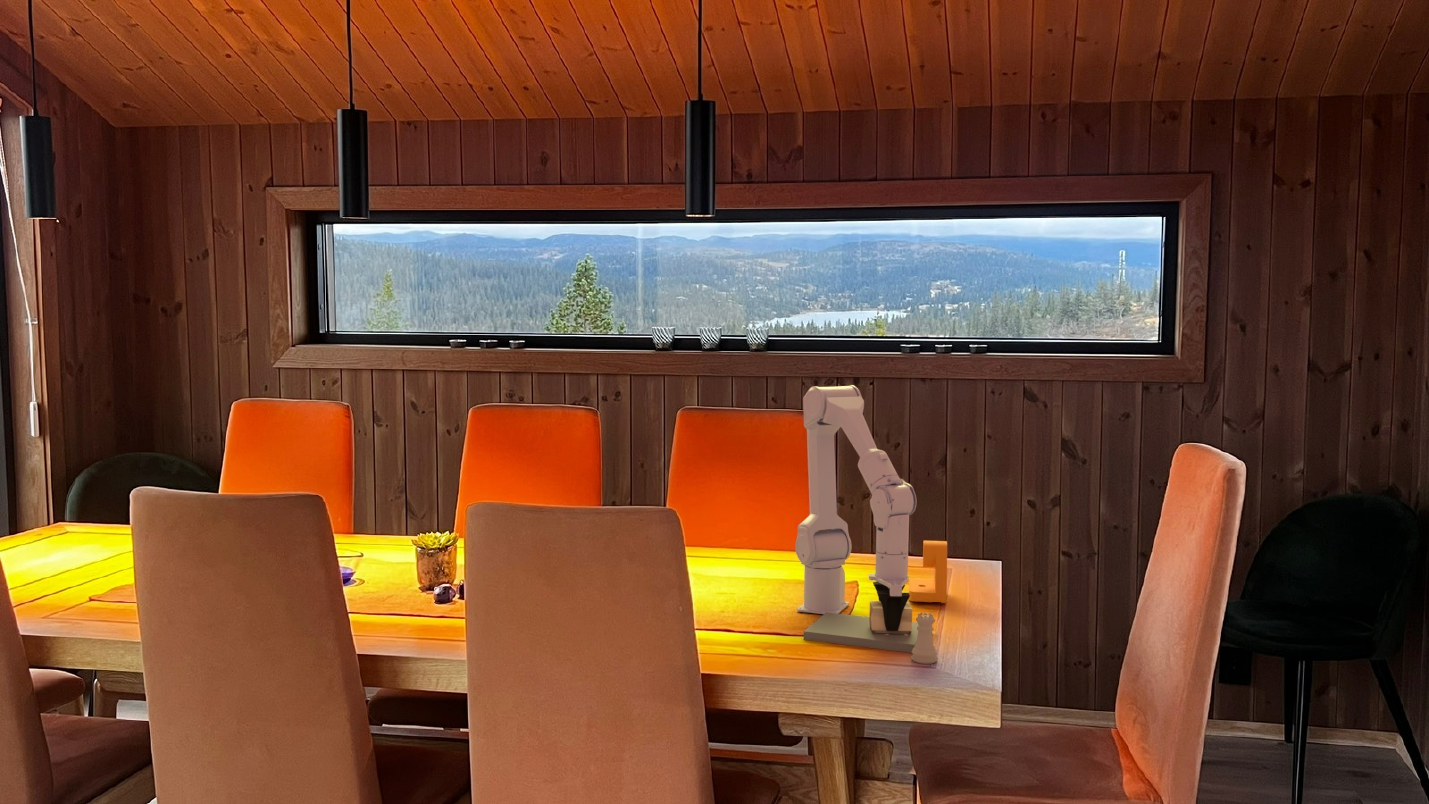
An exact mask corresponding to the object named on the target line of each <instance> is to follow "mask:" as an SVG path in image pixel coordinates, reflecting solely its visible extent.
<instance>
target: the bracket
mask: <svg viewBox="0 0 1429 804" xmlns="http://www.w3.org/2000/svg"><path fill="white" fill-rule="evenodd" d="M922 543H923V546H922V549H923V550H922V551H923V552H922V568H930V569H931V568H933V569H934V578H933V579H915V578H911V579H909V581H908V583H909V584H908V590H909V591H908V593H909V594H910V597H909V600H908V602H914V603H915V602H916V603H932V602H941V603H940V604H947V596H948V594H947V593H948V591H947V590H948V589H947V587H948V586H947V585H948V584H947V583H948V582H947V581H948V541H946V540H945V541H944V540H923V542H922Z"/></svg>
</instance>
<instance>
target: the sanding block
mask: <svg viewBox="0 0 1429 804" xmlns="http://www.w3.org/2000/svg"><path fill="white" fill-rule="evenodd" d="M868 617H869V623H870V627H871V630H872V632H873V633H874V632H875V633H896V634H909V633H911V631H912V622H913V607H912V606H911V603H910V601H907V603H906V605H905V607H904V610H903V613H902V617H901V622H900V626H899V629H898V631H886V627H885V622H884V614H883V608H882V604H881V601H879V600H870V601H869V616H868Z"/></svg>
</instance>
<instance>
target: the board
mask: <svg viewBox="0 0 1429 804" xmlns="http://www.w3.org/2000/svg"><path fill="white" fill-rule="evenodd" d="M917 627H918V623H917V621H916V622H914V621H912V631H911V633H909V634H896V633H875V632H874V633H873V632H872V630H871V627H870V623H869V616H862V615H853V614H852V615H851V614H844V613H838V614H837V613H828V612H826V613H825V614H822V616H820V617H819V618H818V619H817V620H816V621H814V622H813V623H812V624H811V625H810V626H808V627H807V628H806V629H805V630H803V640H805V641H812V642H821V643H828V644H829V643H830V644H839V645H843V646H854V647H860V648H861V647H862V648H868V649H869V648H870V649H876V650H885V651H893V652H895V651H896V652H901V653H902V652H903V653H909V654H910V653H911V654H912V649H913V648H914V647H915V645H916V642H917V637H918V630H917Z"/></svg>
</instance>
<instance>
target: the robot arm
mask: <svg viewBox="0 0 1429 804" xmlns="http://www.w3.org/2000/svg"><path fill="white" fill-rule="evenodd" d="M802 403H803V405H802V406H803V408H802V409H803V427H804V428H805V429H806V438H807V439H806V440H807V441H806V443H807V446H806V448H807V469H808V496H809V501H808V503H809V515H808V516H807V517H806V518H804V520H803V521H802V522H800V523H799V524H798V525H797V534H796V535H797V537H796V541H795V546H794V547H795V548H794V549H795V554H796V556H797V558H798V560H799V562H800V564H801V565H803V566H804V583H803V584H804V585H803V586H804V587H803V604H802V605H800V606H799V607H798V608H797V609H796V611H797V612H801V613H810V614H819V615H824V614H825V613H826V612H828V613H837V614H841V612H843V610H845V608H847V607H848V606H849V605H850V602H849V601H845V598H846V597H845V593H846V592H845V591H846V589H845V588H846V573H845V568H843V566H845V565H846V561H847V560H848V559H849V557H850V555H851V552H852V548H853V547H852V540H851V539H852V538H851V537H850V535H849V527H848V526H849V525H848V523H847V521H845V520H844V519H843V518H841V517H840V516H839V515H838V510H837V509H838V507H837V503H838V502H837V475H836V452H835V435H836V434H837V432H838V430H840V428H841V429H842V431H843V432H844V434H845V435H846V437H847V439H848V440H849V442H850V444H851V445H852V446H853V448H854V450H855V451H856V453H857V455H858V457H859V460H858V463H857V468H858V469H859V471H860V474H861V476H862V477H863V480H864V482H865V484H866V486H867V487H868V489H869V491H870V493H871V498H870V499H869V505H870V508H871V511H872V512H871V513H872V515H873V523H874V526H875V527H876V528H875V529H876V534H875V535H876V537H875V573H869V574H868V580H869V581H873V582H872V584H873V586H874V589H875V592H876V594H877V597H878V601H881V604H882V608H883V614H884V622H885V627H886V631H898V629H899V626H900V622H901V617H902V613H903V610H904V607H905V605H906V603H907V602H909V597H910V594H909V592H903V590H904V589H905V587H906V584H907V583H909V580H910V579H909V541H910V540H909V538H910V537H909V536H910V534H909V533H910V532H909V531H910V516H911V515H913V514H914V512H916V508H917V503H918V502H917V495H916V492H915V490H914V487H913V486H912V484H910V483H908V482H906V481H905V480H904V479H903V478H900V476H899V475H898V473H897V471H896V468H894V465H893V464H892V461H891V459H890V458H889V456H888V454H887V452H886V451H884V450H882V449H878V448H877V447H878V446H877V445H876V443H875V440H874V438H873V436H872V434H871V431H870V428H869V426H868V423H867V421H866V419H865V416H864V415H863V413H864V408H865V400H864V398H863V396H862V394H861V391H860V389H859V388H858V387H857V386H855V385H853V384H849V385H843V386H811V387H810V388H809V389H808V390H807V392H806V393H805V394H804V396H803V398H802Z"/></svg>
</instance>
